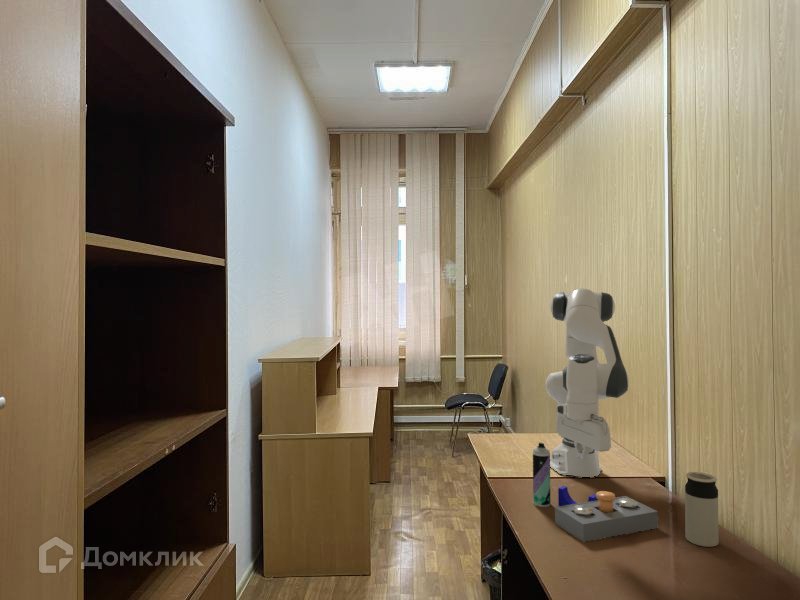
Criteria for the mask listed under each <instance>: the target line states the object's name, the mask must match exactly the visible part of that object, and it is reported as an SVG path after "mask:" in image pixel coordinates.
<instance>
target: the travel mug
mask: <svg viewBox="0 0 800 600" xmlns="http://www.w3.org/2000/svg"><path fill="white" fill-rule="evenodd" d="M685 476H686V479H687V482H686V483H685V484H684V509H685V510H684V512H685V513H684V516H685V520H684V523H685V525H684V527H685V529H684V531H685V537H684V538H685V539H686V540H687V541H688V542H689V543H691V544H693V545H695V546H699V547H704V548H706V547H707V548H710V547H716V546H718V545H719V489H718V487H717V486H716V484H717V483H716V482H717V480H718V478H717V476H715V475H713V474H710V473H706V472H701V471H689V472H687V473H686V474H685Z"/></svg>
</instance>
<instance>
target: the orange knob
mask: <svg viewBox="0 0 800 600" xmlns="http://www.w3.org/2000/svg"><path fill="white" fill-rule="evenodd" d="M595 495H596V498H597V499H598V500H599V511H601V512H603V513H611V512H613V501H615V497H616V494H615V493H614V492H611V491H605V490H600V491H597V492H596V493H595Z"/></svg>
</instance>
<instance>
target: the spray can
mask: <svg viewBox="0 0 800 600" xmlns="http://www.w3.org/2000/svg"><path fill="white" fill-rule="evenodd" d="M550 459H551V453H550V449H548V448H546V446H545V444H544V442H538V444H537V445H536V448H533V449H532V504H533V506H536V507H540V508H548V507H550V506H551V468H550Z"/></svg>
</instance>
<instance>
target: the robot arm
mask: <svg viewBox="0 0 800 600" xmlns="http://www.w3.org/2000/svg"><path fill="white" fill-rule="evenodd" d="M549 307H550V312H551V315H552V318H554V319H555V320H557V321H561V322H564V321H565V355H566V357H567V358H568V359H567V365H566V366H565V368H564V369H562V370H560V371H555V372H550V373H549V374H548V376H547V377H546V379H545V385H544V386H545V390H546V392H547V394H548V396H549V397H550V398H551V399H553V400H554V401H555V402H556V403H557V404H558V405H556V406H555V412H557V414H556V417H555V418H556V420H555V422H556V423H555V424H556V425H555V427H556V432H557V435H558V436H560V437H561V438H562V441H561V443H560V444H558V445H557V446H556V447H554V448H553V449H552V451H551V455H550V467H551V468H553V469H554V470H555V471H557V472H558V473H560V474H565V475H564V476H566V475H574V476H581V477H580V478H582V477H590V478H595V477H594V476H596V477H598V475H599V474H600V475H601V471H602V467H601V466H600V458H599V453H600V452H601V453H603V452H608V451H610V449H611V448H612V447H611V446H612V441H611V433H610V428H609V426H608V425H609V424H608V422H607V421H606V420H605V418H604V417H602V416H600V415H599V400H604V399H608V398H615V399H618V398H620V397H621V396H623V395H624V394H626V393H627V392H628V390H629V386H630V383H629V382H630V380H629V375H628V372H627V370H626V367H625V366H624V362H623V360H622V356H621V353H620V350H619V346H618V344H617V340H616V337H615V334H614V331H613V330H612V328H611V326H609V325H608V324H606V323H604V322H609V320H611V319H612V318H613V316H614V313H615V311H616V305H615V301H614V299H613V296H612V295H611V294H610V293H606V292H603V291H602V292H595V291H592V290H590V289H588V288H584V287H583V288H578V289H577V288H576V289H575V290H573V291H572V292H571V291H570V292H563V291H562V292H557V293H555V294H554V295H553V298H552V299H551V301H550V305H549ZM597 347H598V348H600V349H602V352H604V355H605V360H606V362H607V363H600V362H599V359H598V355H597V353H598V352H597ZM551 468H550V469H551ZM553 469H552V470H553ZM554 470H553V471H554ZM555 471H554V472H555ZM557 472H556V473H557ZM558 473H557V474H558ZM600 475H599V476H600Z"/></svg>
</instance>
